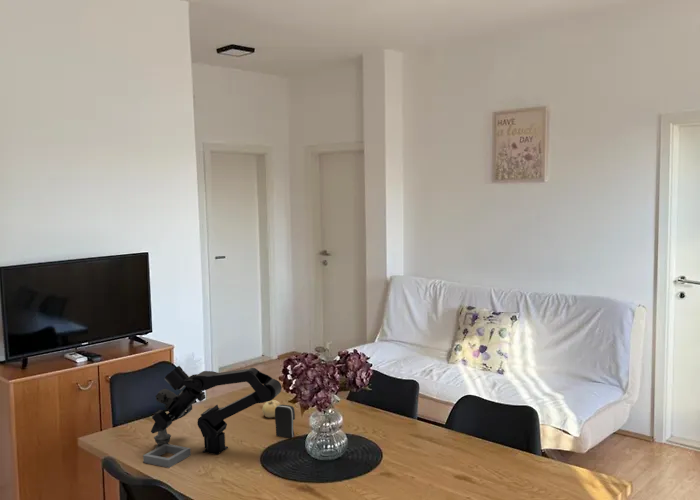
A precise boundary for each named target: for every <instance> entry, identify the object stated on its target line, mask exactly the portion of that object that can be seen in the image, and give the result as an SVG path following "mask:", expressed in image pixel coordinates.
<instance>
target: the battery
mask: <svg viewBox="0 0 700 500" xmlns="http://www.w3.org/2000/svg"><path fill="white" fill-rule="evenodd" d="M274 420H275V421H274V423H275V435H276V437H282V438H288V439H289V438H290V439H291V438H294V436H295V432H294V421H295V420H296V413H295V408H294V406H292V405H290V404H289V405H287V404H281V405H279V406H277V407H276V408H275V417H274Z"/></svg>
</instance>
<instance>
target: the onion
mask: <svg viewBox="0 0 700 500" xmlns="http://www.w3.org/2000/svg"><path fill="white" fill-rule="evenodd" d="M279 405H282V404H281V403H280V402H279V401H278V400H276V399H272V400H271V401H268V402H264V403H263V406H262V410H261V411H262V414H263V416H265V418H275V408H276V407H277V406H279Z"/></svg>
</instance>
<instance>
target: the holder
mask: <svg viewBox="0 0 700 500" xmlns="http://www.w3.org/2000/svg"><path fill="white" fill-rule="evenodd" d="M191 451H192V448H191V447H187V446H181V445H176V444H171V443H169V444H164V445H162V446H160V447H158V448H154V449H152V450H151V451H149V452H147V453H145V454H143V455H142V457H143V458H142V459H143V461H142V462H143V463H144V464H148V465H154V466H157V467H158V466H159V467H163V468H169V469H170V468H171V467H173V466H175V465H177V464H178V463H180V462H182V461H183V460H186V459H187V458H188V457H190V456H192V452H191ZM166 453H167V454H173V455H172V456H169V457H165V456H162V455H165V454H166Z"/></svg>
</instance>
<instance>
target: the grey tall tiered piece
mask: <svg viewBox="0 0 700 500" xmlns="http://www.w3.org/2000/svg"><path fill="white" fill-rule="evenodd" d="M171 438H172V435H171V434H169V433H168V431H167V428H166V429H165V430H161V431H158V432H157V434H156V435H154V437H153V439H154V441H155V443H156V444H157V445H156V446H155V448H154V449H156V448H158V447H160V446H162V445H164V444H170V441H171Z"/></svg>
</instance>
